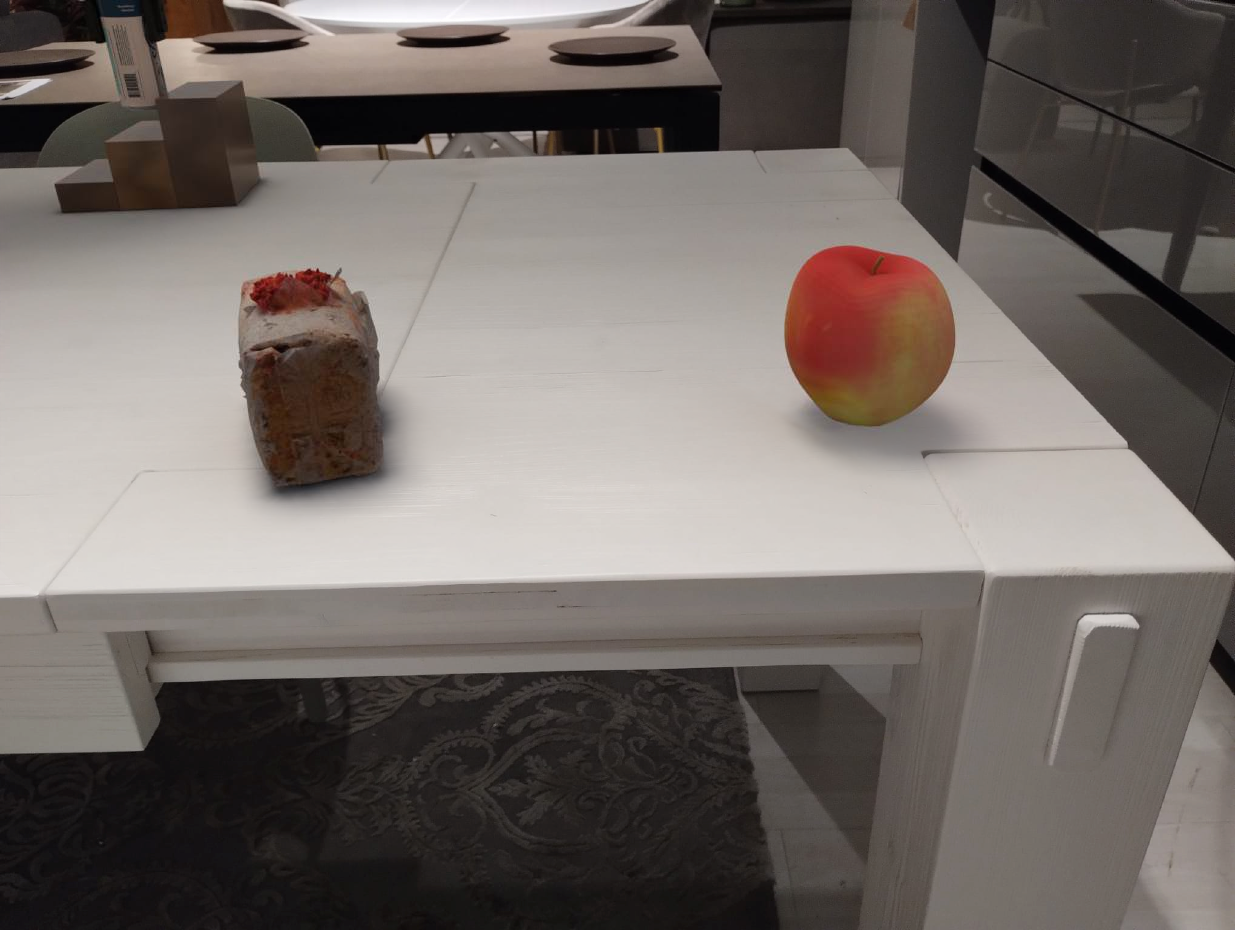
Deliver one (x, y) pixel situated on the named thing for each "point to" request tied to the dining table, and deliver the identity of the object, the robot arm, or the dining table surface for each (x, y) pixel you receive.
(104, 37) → the robot arm
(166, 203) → the step shelf
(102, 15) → the beer can
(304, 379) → the food item
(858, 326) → the apple
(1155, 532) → the dining table surface
